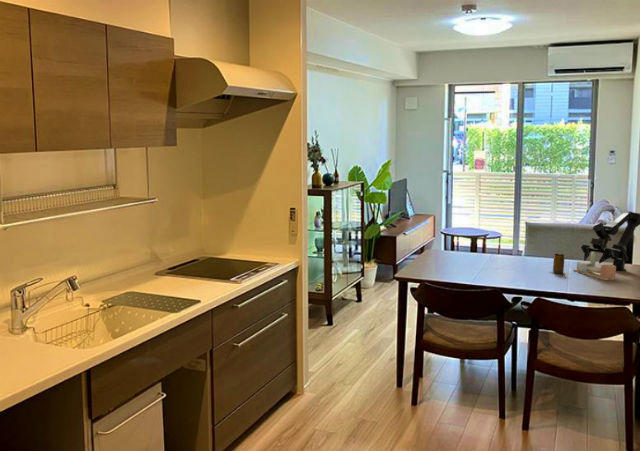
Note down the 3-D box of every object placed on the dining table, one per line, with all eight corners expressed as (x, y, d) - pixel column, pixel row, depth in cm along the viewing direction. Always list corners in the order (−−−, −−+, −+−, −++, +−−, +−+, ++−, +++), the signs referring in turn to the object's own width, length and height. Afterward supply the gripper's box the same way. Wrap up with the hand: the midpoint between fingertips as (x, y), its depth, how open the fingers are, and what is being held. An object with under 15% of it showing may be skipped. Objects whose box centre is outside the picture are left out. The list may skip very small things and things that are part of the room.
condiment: (556, 271, 389) (557, 252, 387) (568, 273, 383) (570, 254, 381) (549, 272, 385) (551, 253, 383) (562, 275, 378) (564, 255, 376)
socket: (609, 275, 374) (610, 264, 373) (615, 277, 369) (616, 266, 368) (600, 276, 371) (601, 265, 370) (606, 278, 367) (607, 266, 366)
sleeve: (582, 269, 391) (583, 261, 390) (592, 271, 384) (593, 263, 383) (576, 269, 389) (577, 261, 388) (586, 272, 382) (587, 264, 381)
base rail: (581, 270, 393) (582, 268, 393) (614, 279, 370) (615, 277, 369) (573, 270, 390) (573, 269, 390) (605, 280, 367) (606, 278, 367)
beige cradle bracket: (582, 268, 390) (584, 249, 388) (602, 273, 376) (603, 254, 374) (578, 268, 388) (580, 250, 387) (597, 273, 375) (599, 254, 373)
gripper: (583, 231, 387) (573, 251, 382) (613, 235, 373) (603, 256, 368) (589, 242, 393) (578, 262, 388) (618, 247, 379) (608, 267, 374)
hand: (591, 261), depth 379 cm, fingers open, 9 cm apart
